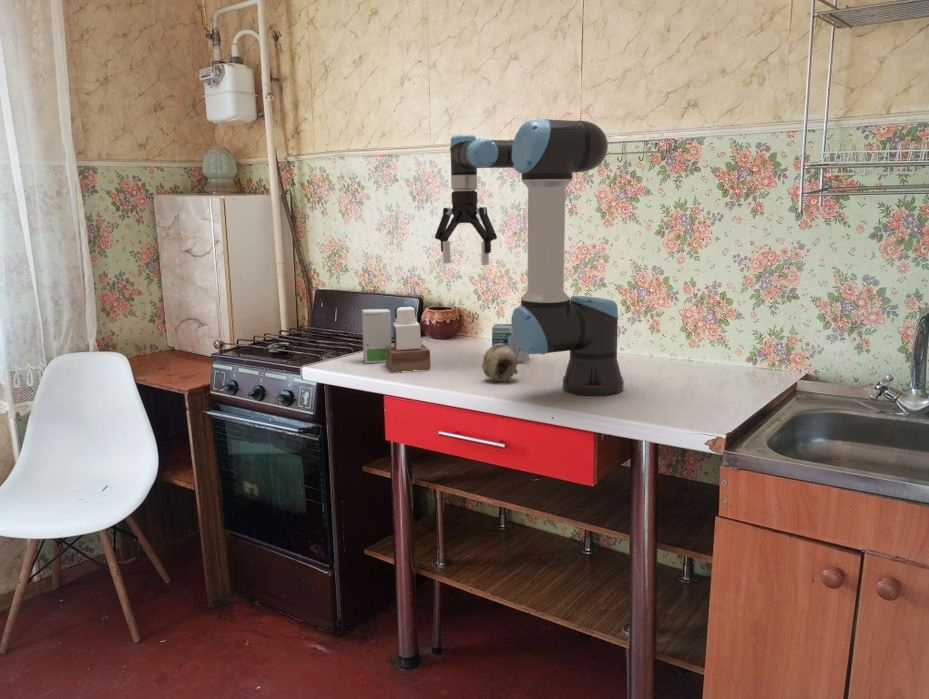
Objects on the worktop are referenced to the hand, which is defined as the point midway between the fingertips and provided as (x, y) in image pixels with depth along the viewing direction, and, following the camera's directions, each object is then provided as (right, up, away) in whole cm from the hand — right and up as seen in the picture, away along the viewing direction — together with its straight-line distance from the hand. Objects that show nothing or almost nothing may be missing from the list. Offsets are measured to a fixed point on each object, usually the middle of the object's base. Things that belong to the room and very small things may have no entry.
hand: (465, 264), depth 222 cm
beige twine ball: (+9, -34, -22) cm, 41 cm away
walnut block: (-17, -31, -4) cm, 35 cm away
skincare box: (-27, -29, +6) cm, 40 cm away
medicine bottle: (-17, -25, -6) cm, 31 cm away
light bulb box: (+14, -29, +2) cm, 32 cm away
